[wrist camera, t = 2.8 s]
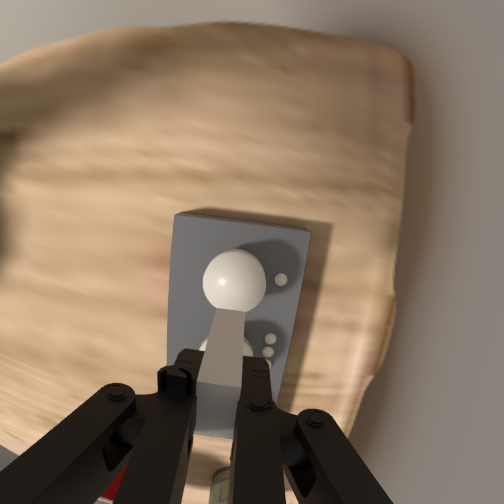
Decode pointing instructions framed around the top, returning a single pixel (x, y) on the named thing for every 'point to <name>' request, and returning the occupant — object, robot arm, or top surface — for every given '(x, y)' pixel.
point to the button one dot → (234, 280)
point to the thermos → (220, 487)
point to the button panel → (257, 319)
